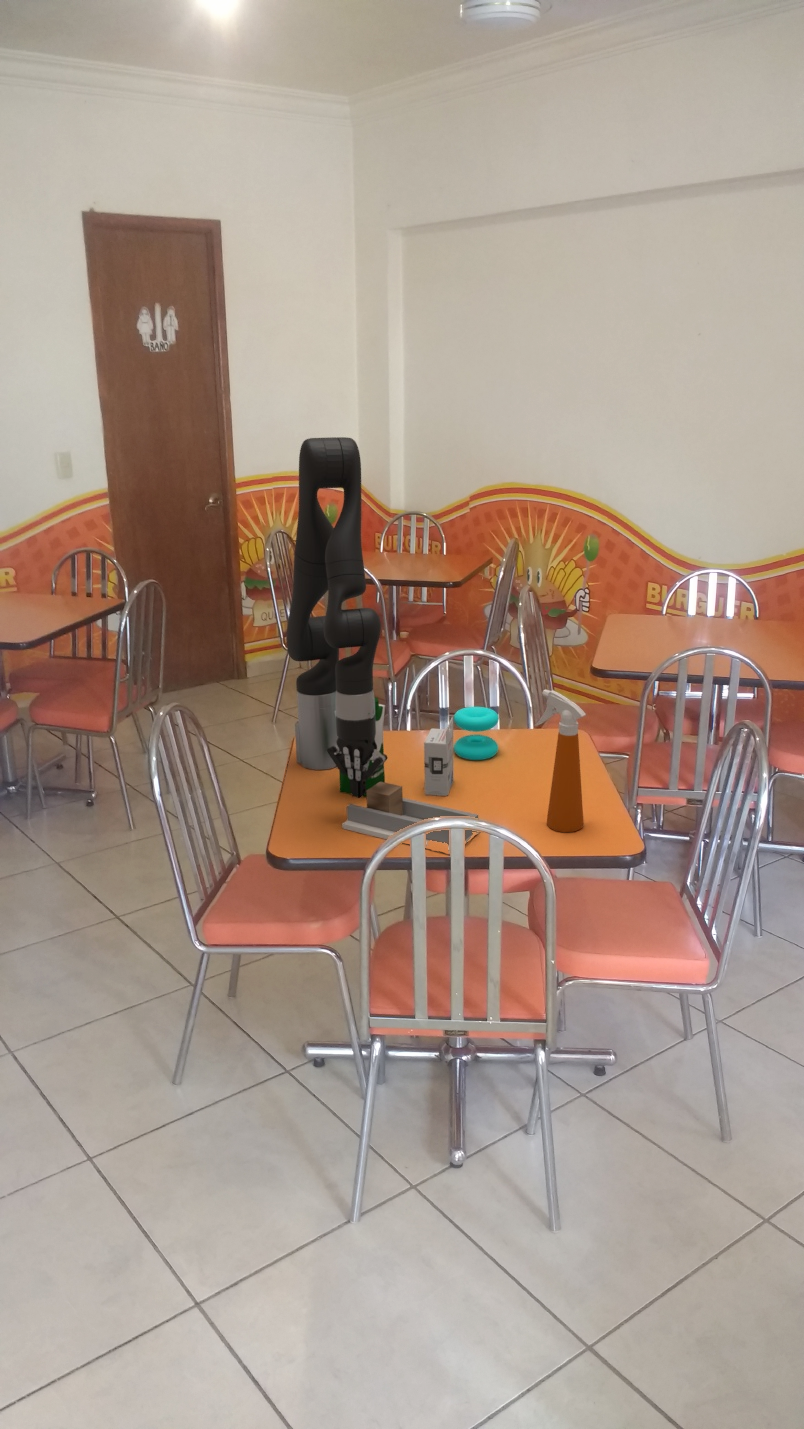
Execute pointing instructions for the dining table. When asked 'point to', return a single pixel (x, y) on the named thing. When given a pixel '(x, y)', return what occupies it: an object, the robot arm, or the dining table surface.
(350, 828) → the chute
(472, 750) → the donuts
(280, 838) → the dining table surface
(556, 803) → the spray bottle
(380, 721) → the milk carton
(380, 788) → the block
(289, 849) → the dining table surface
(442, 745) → the ink box
